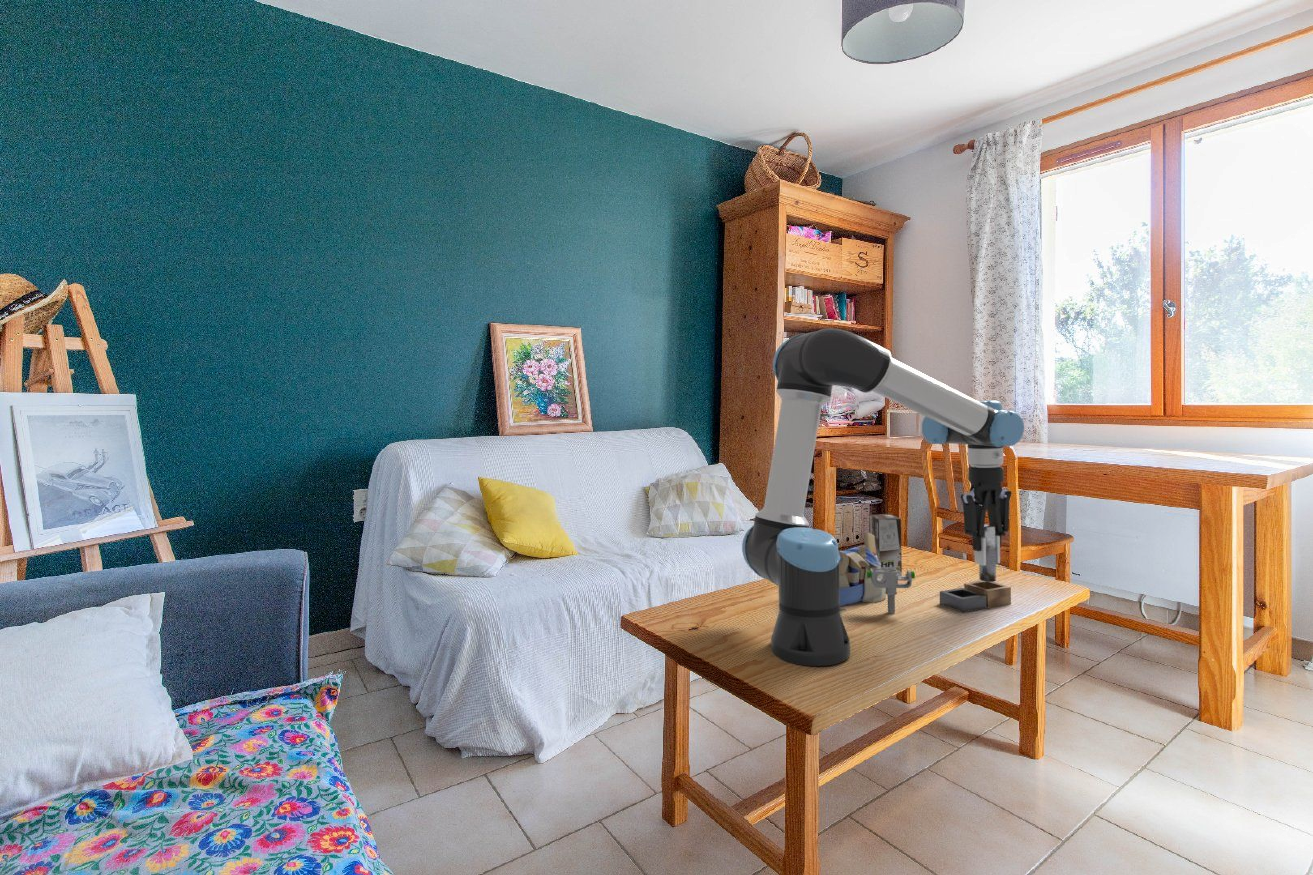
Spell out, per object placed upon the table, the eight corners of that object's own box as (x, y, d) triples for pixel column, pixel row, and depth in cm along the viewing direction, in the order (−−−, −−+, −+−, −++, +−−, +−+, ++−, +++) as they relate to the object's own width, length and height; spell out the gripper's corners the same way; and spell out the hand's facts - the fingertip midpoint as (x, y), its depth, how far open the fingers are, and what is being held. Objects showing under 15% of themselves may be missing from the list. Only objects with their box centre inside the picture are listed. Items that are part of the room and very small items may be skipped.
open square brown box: (988, 607, 147) (987, 590, 147) (964, 599, 154) (964, 583, 153) (1010, 603, 149) (1010, 587, 149) (986, 595, 156) (986, 579, 156)
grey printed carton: (903, 576, 176) (901, 518, 175) (879, 576, 176) (878, 519, 175) (892, 567, 185) (891, 513, 184) (870, 568, 185) (869, 513, 184)
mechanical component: (916, 615, 144) (915, 572, 143) (869, 614, 146) (868, 571, 145) (913, 611, 146) (912, 568, 146) (867, 610, 148) (866, 568, 148)
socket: (962, 612, 145) (962, 599, 144) (939, 603, 151) (939, 591, 151) (986, 608, 147) (986, 595, 147) (962, 599, 153) (962, 587, 153)
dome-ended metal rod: (988, 582, 149) (987, 527, 148) (975, 578, 152) (974, 525, 152) (999, 580, 150) (998, 526, 149) (987, 576, 153) (986, 523, 153)
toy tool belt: (827, 621, 142) (825, 551, 142) (777, 603, 156) (775, 539, 155) (901, 599, 156) (900, 535, 155) (849, 584, 170) (848, 525, 169)
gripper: (970, 469, 144) (972, 570, 145) (1026, 464, 149) (1027, 562, 150) (945, 466, 151) (947, 563, 152) (999, 462, 156) (1000, 555, 157)
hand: (987, 562), depth 151 cm, fingers closed on dome-ended metal rod, 4 cm apart
